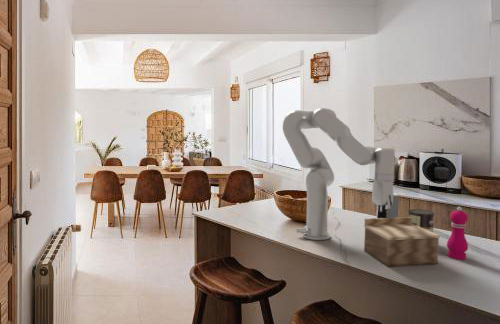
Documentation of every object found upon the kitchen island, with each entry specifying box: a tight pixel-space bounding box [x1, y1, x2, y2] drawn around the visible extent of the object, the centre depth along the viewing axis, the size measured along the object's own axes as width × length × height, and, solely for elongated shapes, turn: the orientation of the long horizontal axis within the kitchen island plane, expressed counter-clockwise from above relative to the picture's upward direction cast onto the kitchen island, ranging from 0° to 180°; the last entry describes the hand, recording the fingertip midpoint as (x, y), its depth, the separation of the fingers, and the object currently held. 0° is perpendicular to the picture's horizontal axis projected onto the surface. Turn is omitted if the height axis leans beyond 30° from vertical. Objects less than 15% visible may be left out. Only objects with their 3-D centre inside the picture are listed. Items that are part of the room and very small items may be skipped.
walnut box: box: [363, 227, 440, 268], centre depth 147 cm, size 20×18×10 cm
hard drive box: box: [376, 190, 400, 218], centre depth 180 cm, size 16×8×20 cm, turn 168°
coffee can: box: [408, 208, 435, 233], centre depth 166 cm, size 10×10×14 cm
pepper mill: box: [446, 206, 469, 260], centre depth 147 cm, size 7×7×20 cm
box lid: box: [363, 216, 441, 240], centre depth 146 cm, size 20×18×4 cm
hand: (381, 220), depth 159 cm, fingers closed
